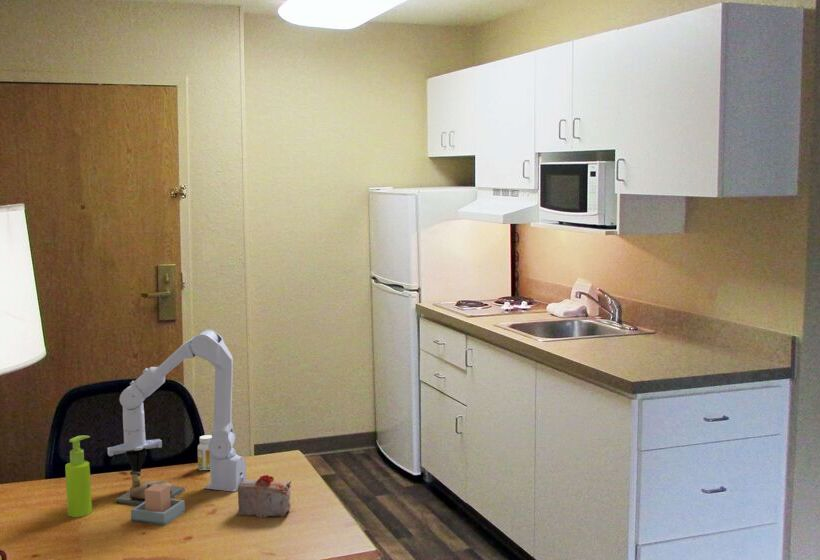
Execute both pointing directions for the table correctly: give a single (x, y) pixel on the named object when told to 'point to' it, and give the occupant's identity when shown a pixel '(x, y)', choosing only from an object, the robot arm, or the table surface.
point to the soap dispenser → (78, 481)
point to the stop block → (157, 498)
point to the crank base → (130, 500)
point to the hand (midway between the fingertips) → (136, 476)
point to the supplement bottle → (204, 453)
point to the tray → (158, 513)
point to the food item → (264, 497)
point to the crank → (142, 485)
